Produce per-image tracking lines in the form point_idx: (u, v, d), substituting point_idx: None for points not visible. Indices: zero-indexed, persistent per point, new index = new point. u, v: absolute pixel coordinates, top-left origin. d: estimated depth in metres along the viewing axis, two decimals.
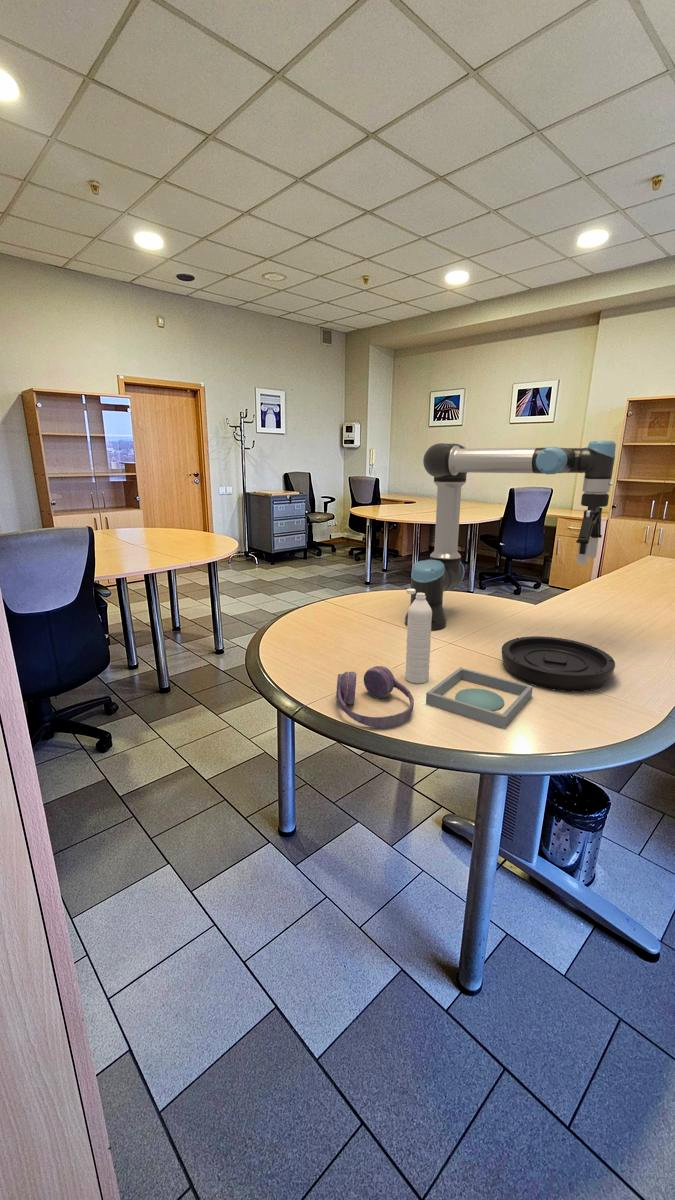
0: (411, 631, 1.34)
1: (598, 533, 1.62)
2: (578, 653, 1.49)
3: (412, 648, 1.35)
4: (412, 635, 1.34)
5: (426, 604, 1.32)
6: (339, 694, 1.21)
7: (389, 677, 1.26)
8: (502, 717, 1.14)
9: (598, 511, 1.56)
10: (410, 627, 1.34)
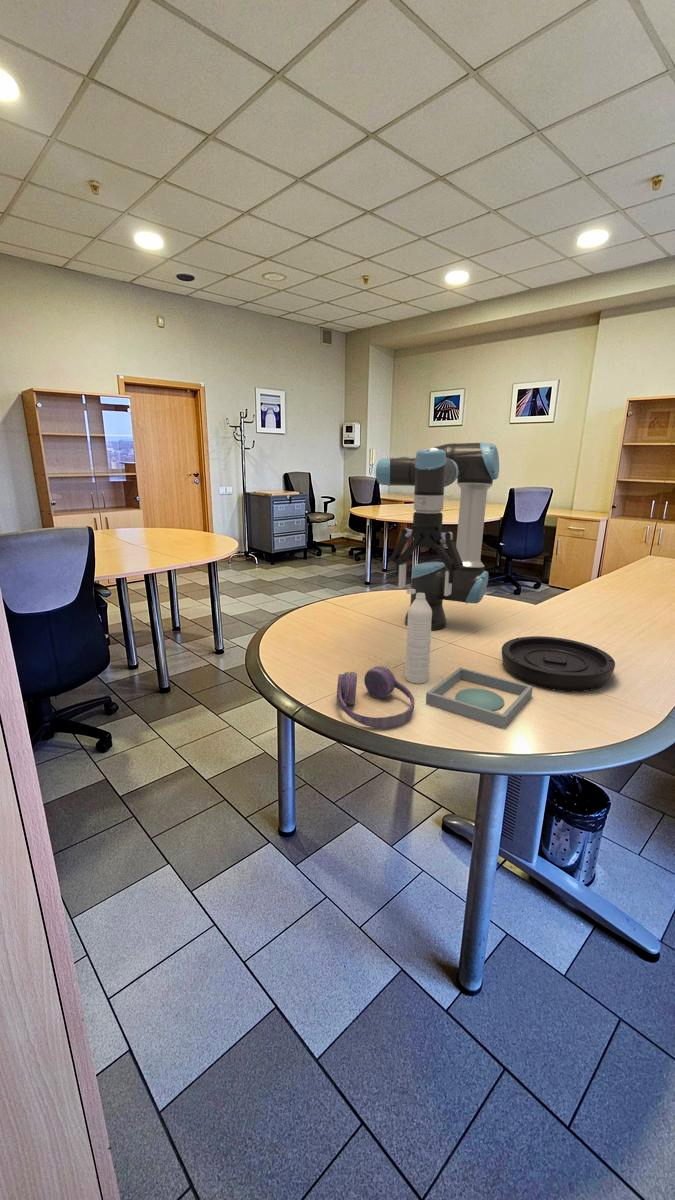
0: (411, 631, 1.34)
1: (446, 565, 1.28)
2: (578, 653, 1.49)
3: (412, 648, 1.35)
4: (412, 635, 1.34)
5: (426, 604, 1.32)
6: (340, 694, 1.21)
7: (390, 677, 1.26)
8: (502, 717, 1.14)
9: (432, 534, 1.28)
10: (410, 627, 1.34)
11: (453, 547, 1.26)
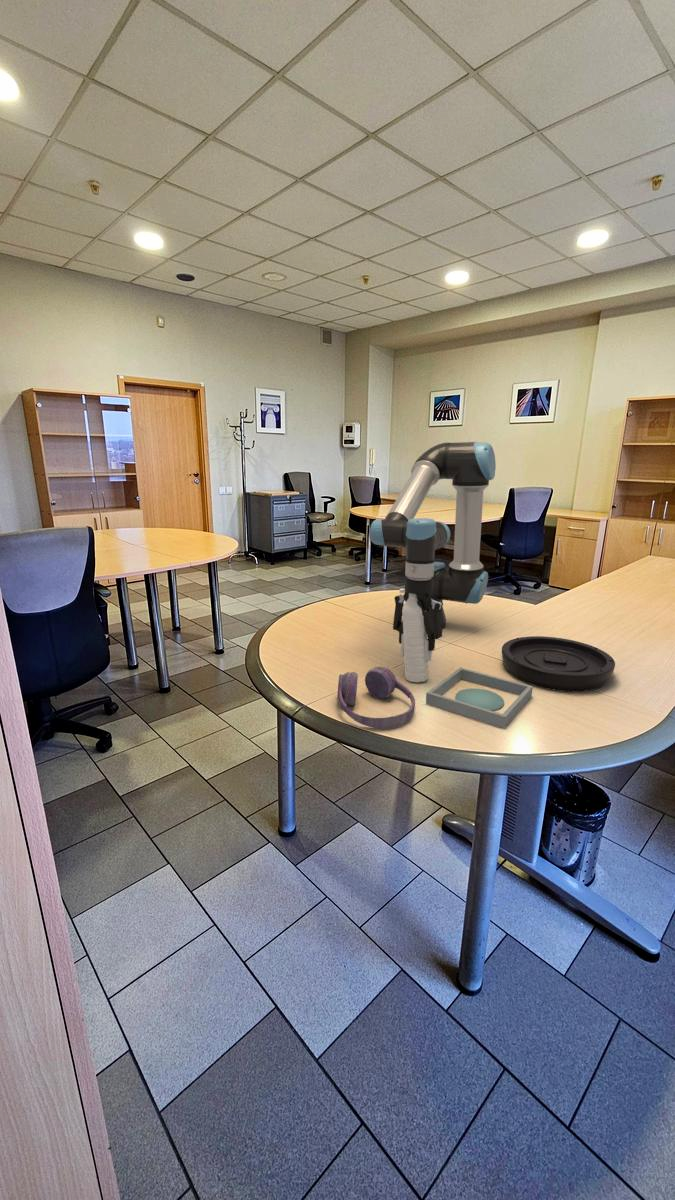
0: (407, 630, 1.34)
1: (427, 633, 1.33)
2: (578, 653, 1.49)
3: (409, 647, 1.35)
4: (408, 634, 1.34)
5: None
6: (340, 695, 1.21)
7: (390, 678, 1.26)
8: (502, 717, 1.14)
9: (423, 599, 1.32)
10: (405, 626, 1.34)
11: (438, 618, 1.31)
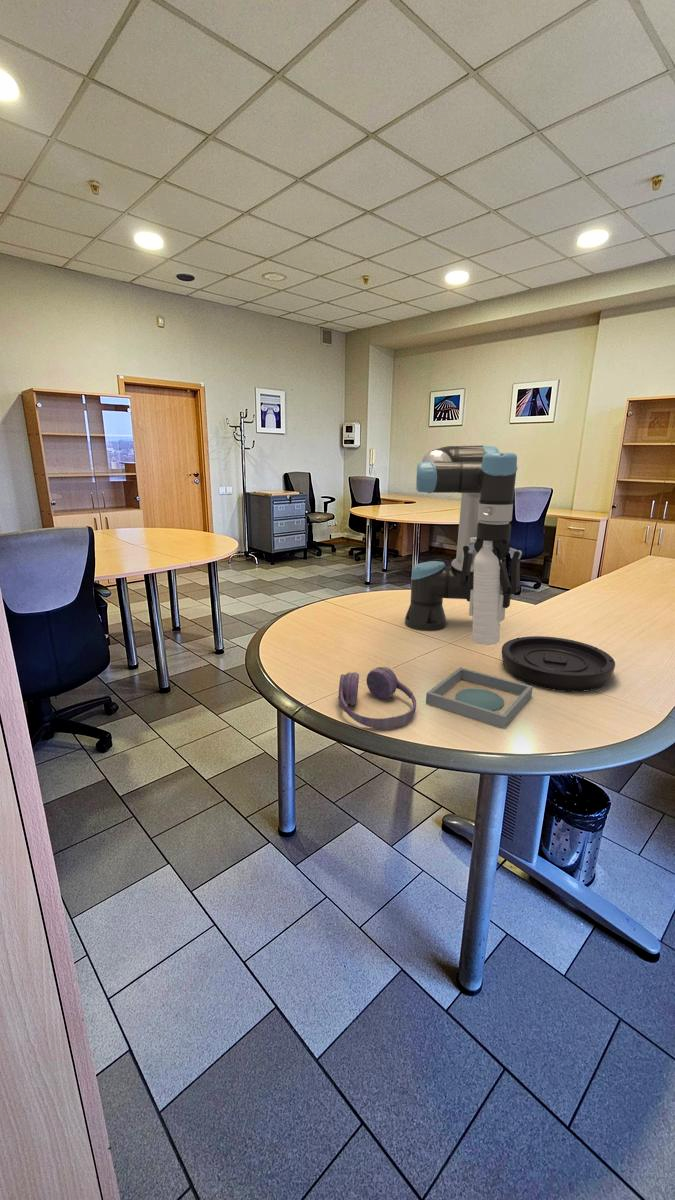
0: (479, 584, 1.17)
1: (502, 586, 1.16)
2: (578, 653, 1.49)
3: (481, 604, 1.17)
4: (481, 589, 1.17)
5: None
6: (341, 695, 1.21)
7: (392, 678, 1.26)
8: (502, 717, 1.14)
9: (500, 547, 1.14)
10: (478, 580, 1.17)
11: (517, 568, 1.14)
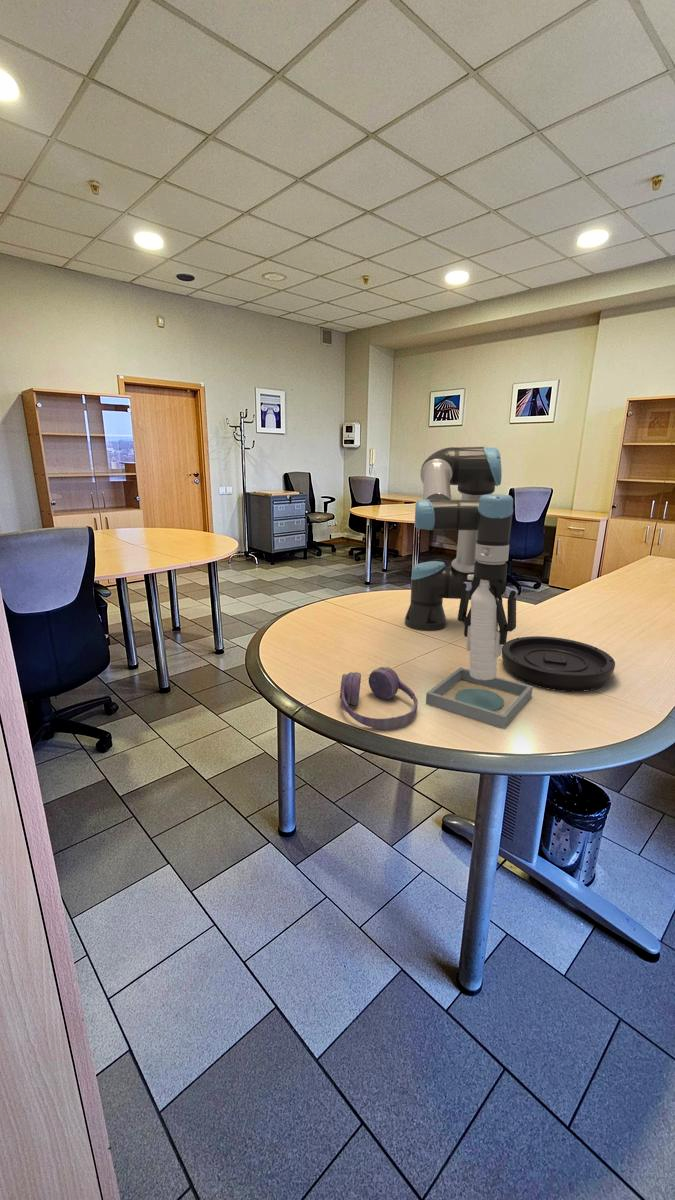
0: (476, 621, 1.19)
1: (499, 624, 1.18)
2: (578, 653, 1.49)
3: (478, 640, 1.20)
4: (478, 626, 1.19)
5: None
6: (343, 694, 1.21)
7: (394, 678, 1.26)
8: (502, 717, 1.14)
9: (496, 585, 1.17)
10: (475, 617, 1.19)
11: (513, 607, 1.16)
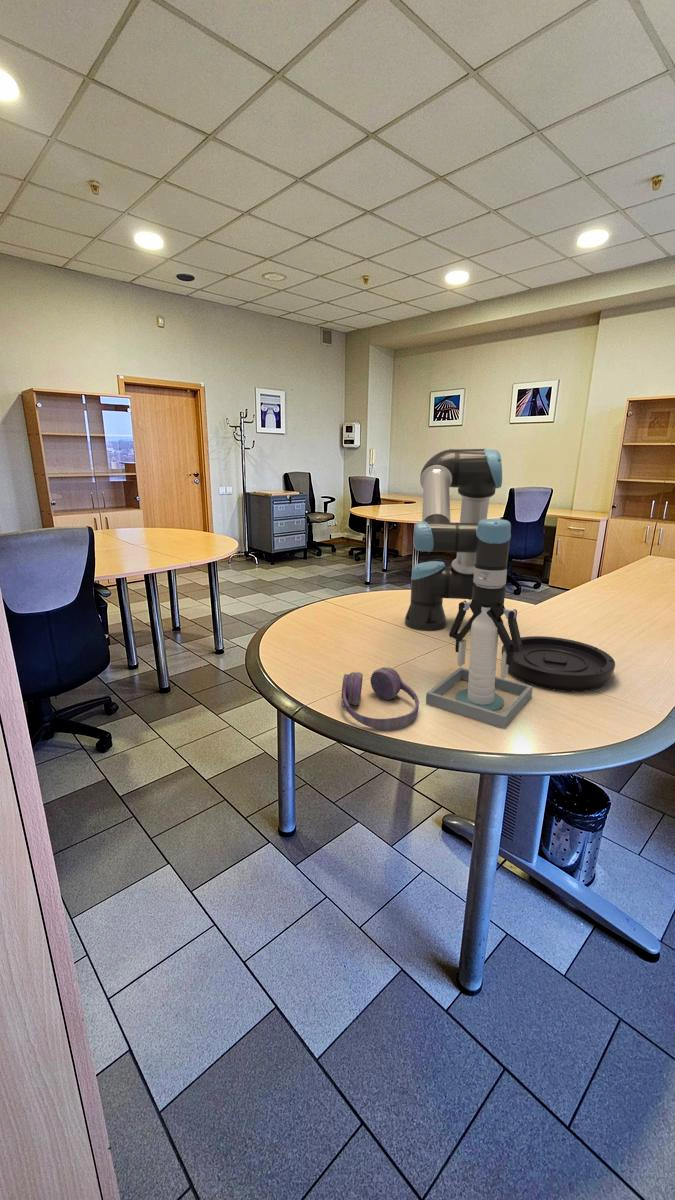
0: (476, 648, 1.21)
1: (505, 645, 1.19)
2: (578, 653, 1.49)
3: (477, 666, 1.22)
4: (477, 652, 1.21)
5: None
6: (344, 694, 1.21)
7: (395, 679, 1.25)
8: (502, 717, 1.14)
9: (494, 609, 1.19)
10: (474, 644, 1.21)
11: (515, 627, 1.17)
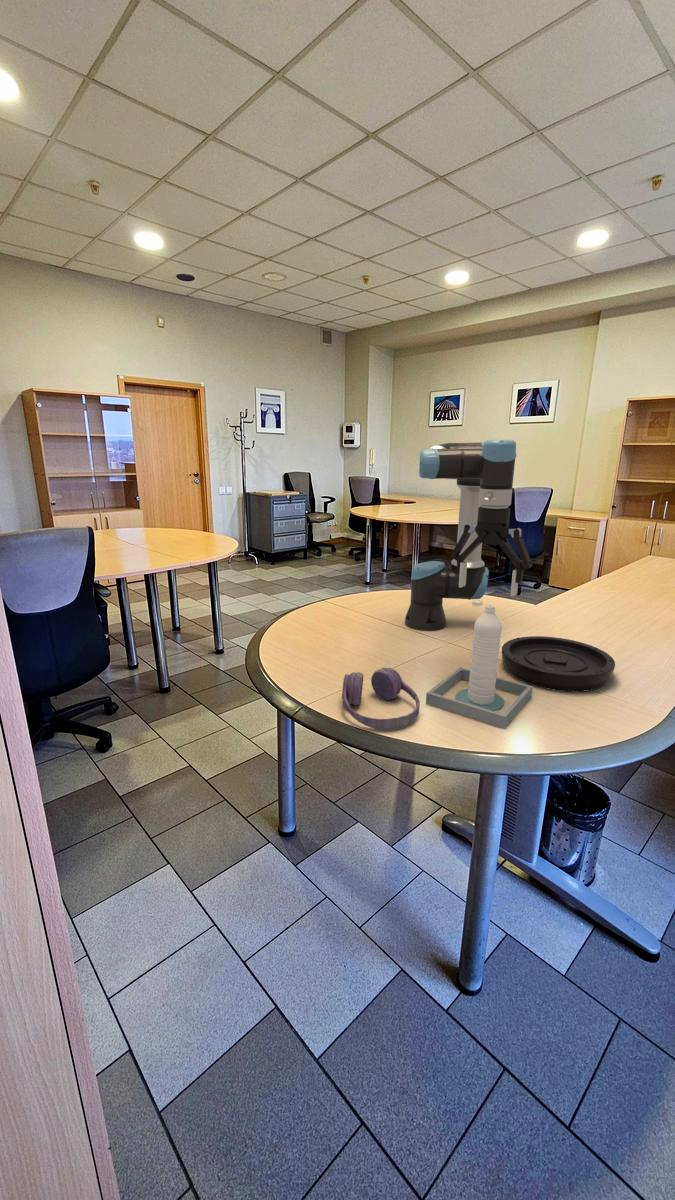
0: (478, 647, 1.21)
1: (514, 563, 1.20)
2: (578, 653, 1.49)
3: (478, 666, 1.22)
4: (479, 652, 1.21)
5: (496, 618, 1.19)
6: (344, 694, 1.21)
7: (396, 679, 1.25)
8: (502, 717, 1.14)
9: (499, 531, 1.20)
10: (477, 643, 1.21)
11: (522, 545, 1.18)
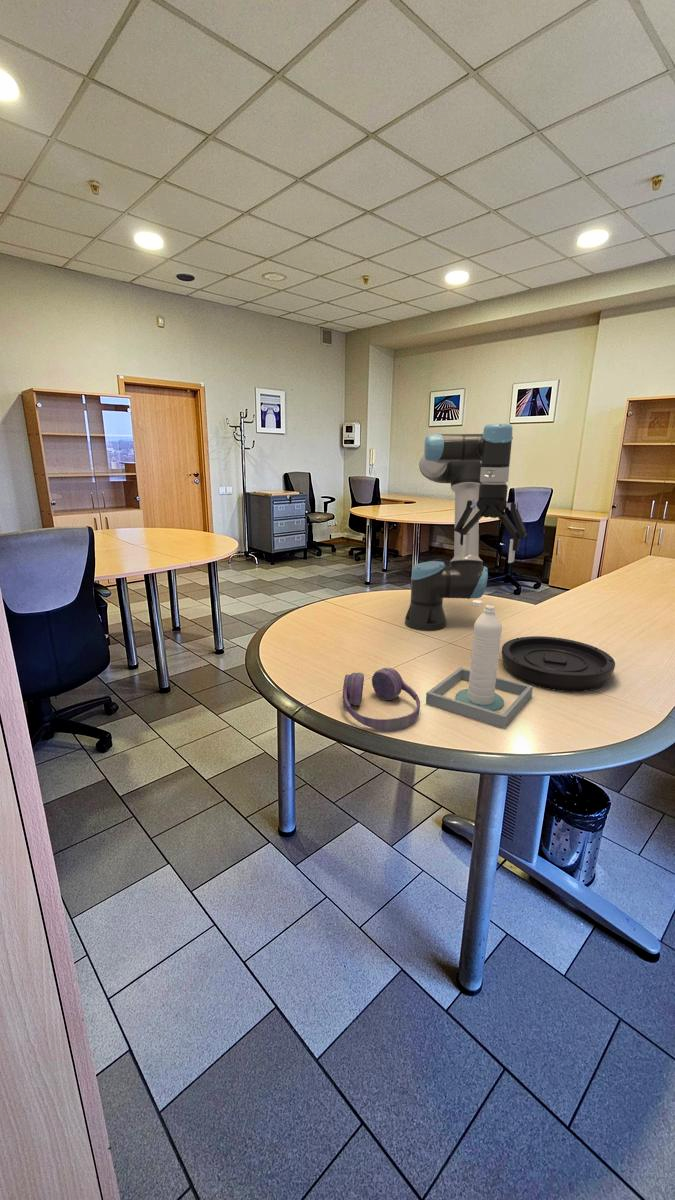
0: (478, 648, 1.21)
1: (511, 533, 1.36)
2: (578, 653, 1.49)
3: (478, 666, 1.22)
4: (479, 652, 1.21)
5: (496, 618, 1.19)
6: (345, 695, 1.21)
7: (397, 679, 1.25)
8: (502, 717, 1.14)
9: (498, 505, 1.37)
10: (477, 644, 1.21)
11: (518, 516, 1.35)
